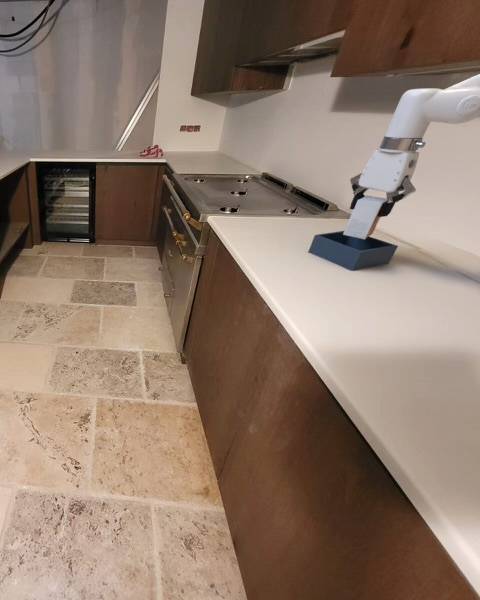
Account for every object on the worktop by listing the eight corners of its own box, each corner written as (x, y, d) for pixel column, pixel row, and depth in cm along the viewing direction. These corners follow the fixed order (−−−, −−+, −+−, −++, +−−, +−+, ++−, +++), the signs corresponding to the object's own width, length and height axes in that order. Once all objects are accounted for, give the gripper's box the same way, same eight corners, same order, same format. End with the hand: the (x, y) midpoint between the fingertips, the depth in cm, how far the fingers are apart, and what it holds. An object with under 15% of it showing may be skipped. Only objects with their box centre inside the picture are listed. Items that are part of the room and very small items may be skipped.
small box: (364, 240, 92) (382, 203, 87) (342, 235, 96) (357, 199, 91) (373, 234, 97) (390, 198, 91) (350, 229, 100) (366, 194, 95)
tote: (341, 246, 108) (349, 229, 105) (388, 264, 96) (398, 245, 93) (308, 251, 104) (314, 234, 101) (352, 270, 93) (361, 252, 90)
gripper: (449, 148, 77) (410, 219, 87) (374, 141, 92) (348, 203, 101) (428, 149, 76) (391, 222, 85) (355, 142, 90) (330, 205, 99)
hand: (367, 212), depth 93 cm, fingers closed on small box, 7 cm apart
